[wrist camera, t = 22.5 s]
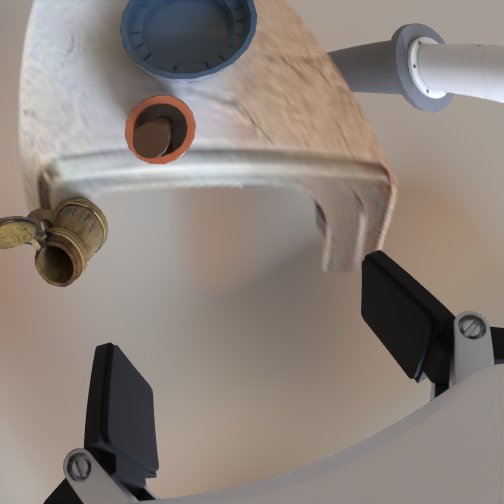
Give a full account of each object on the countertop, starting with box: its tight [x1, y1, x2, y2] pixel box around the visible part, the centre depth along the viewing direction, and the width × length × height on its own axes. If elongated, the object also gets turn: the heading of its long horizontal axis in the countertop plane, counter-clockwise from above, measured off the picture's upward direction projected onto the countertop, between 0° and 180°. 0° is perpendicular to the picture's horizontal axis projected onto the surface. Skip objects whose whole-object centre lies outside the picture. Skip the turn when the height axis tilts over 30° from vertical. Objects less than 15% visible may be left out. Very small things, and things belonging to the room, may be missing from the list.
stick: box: [132, 116, 172, 159], centre depth 25 cm, size 2×2×20 cm
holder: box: [125, 95, 196, 164], centre depth 29 cm, size 7×7×11 cm
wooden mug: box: [0, 198, 108, 287], centre depth 28 cm, size 9×14×18 cm, turn 19°
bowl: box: [120, 0, 257, 83], centre depth 26 cm, size 15×15×6 cm
